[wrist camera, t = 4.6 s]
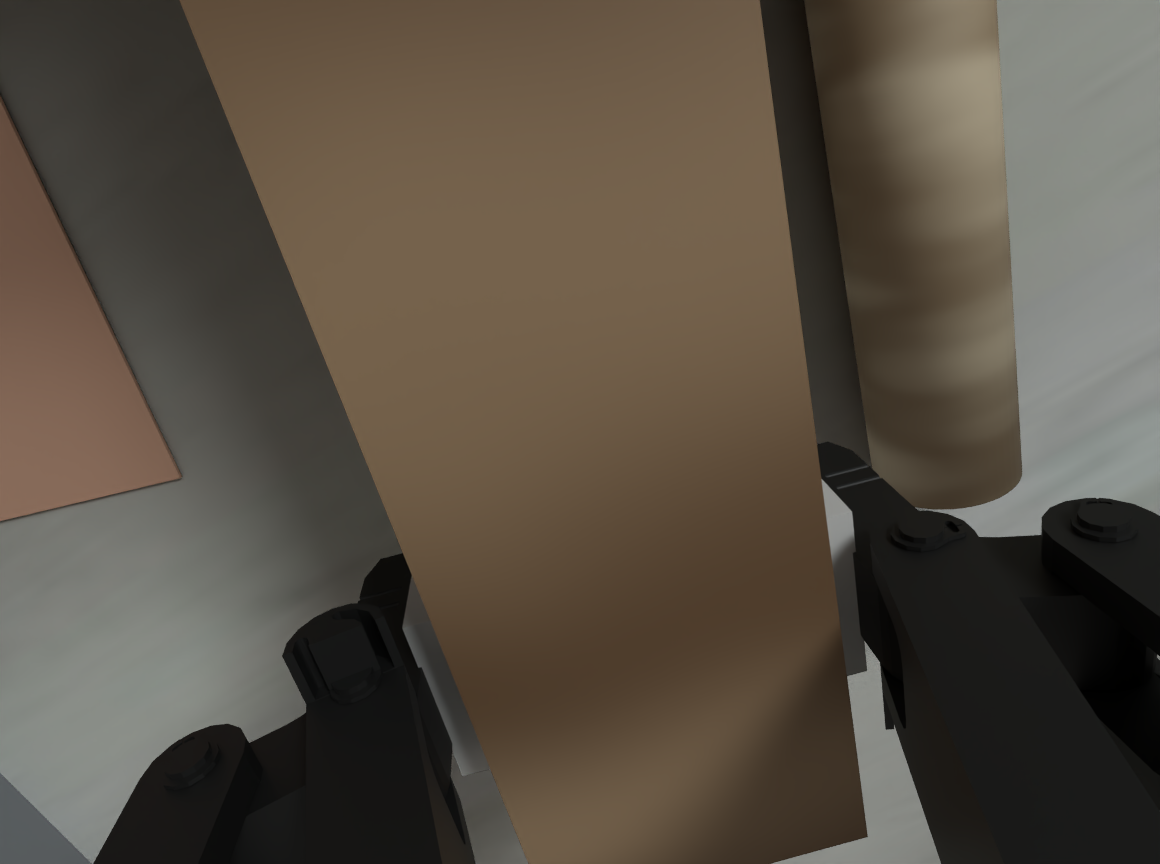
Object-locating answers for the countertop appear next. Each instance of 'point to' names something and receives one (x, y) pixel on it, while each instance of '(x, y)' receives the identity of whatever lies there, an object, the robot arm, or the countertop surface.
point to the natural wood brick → (573, 393)
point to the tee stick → (30, 833)
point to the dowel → (924, 238)
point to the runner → (60, 364)
